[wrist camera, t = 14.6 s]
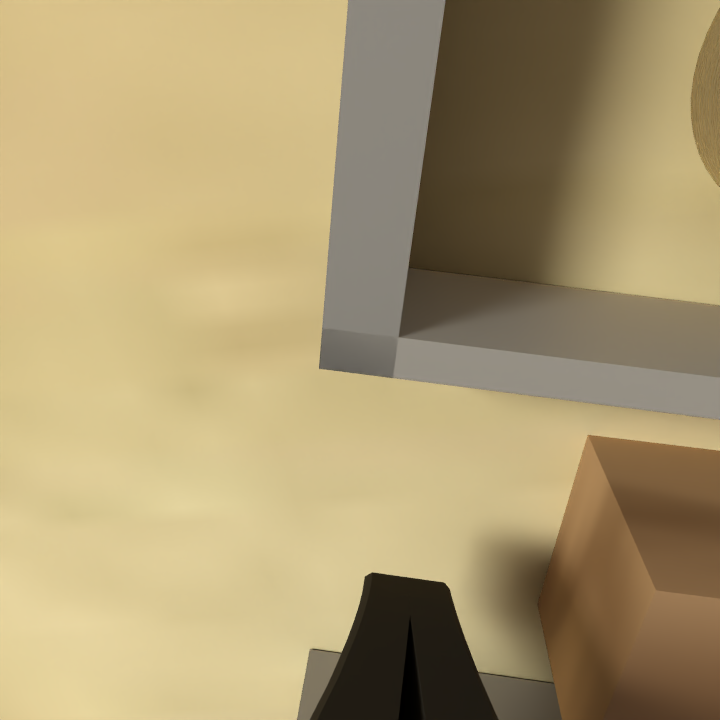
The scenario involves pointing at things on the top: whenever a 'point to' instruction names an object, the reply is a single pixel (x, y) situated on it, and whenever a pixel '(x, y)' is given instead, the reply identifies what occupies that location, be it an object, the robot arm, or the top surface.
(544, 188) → the top surface
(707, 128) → the silver metal cylinder
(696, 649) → the block
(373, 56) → the housing
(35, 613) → the top surface
